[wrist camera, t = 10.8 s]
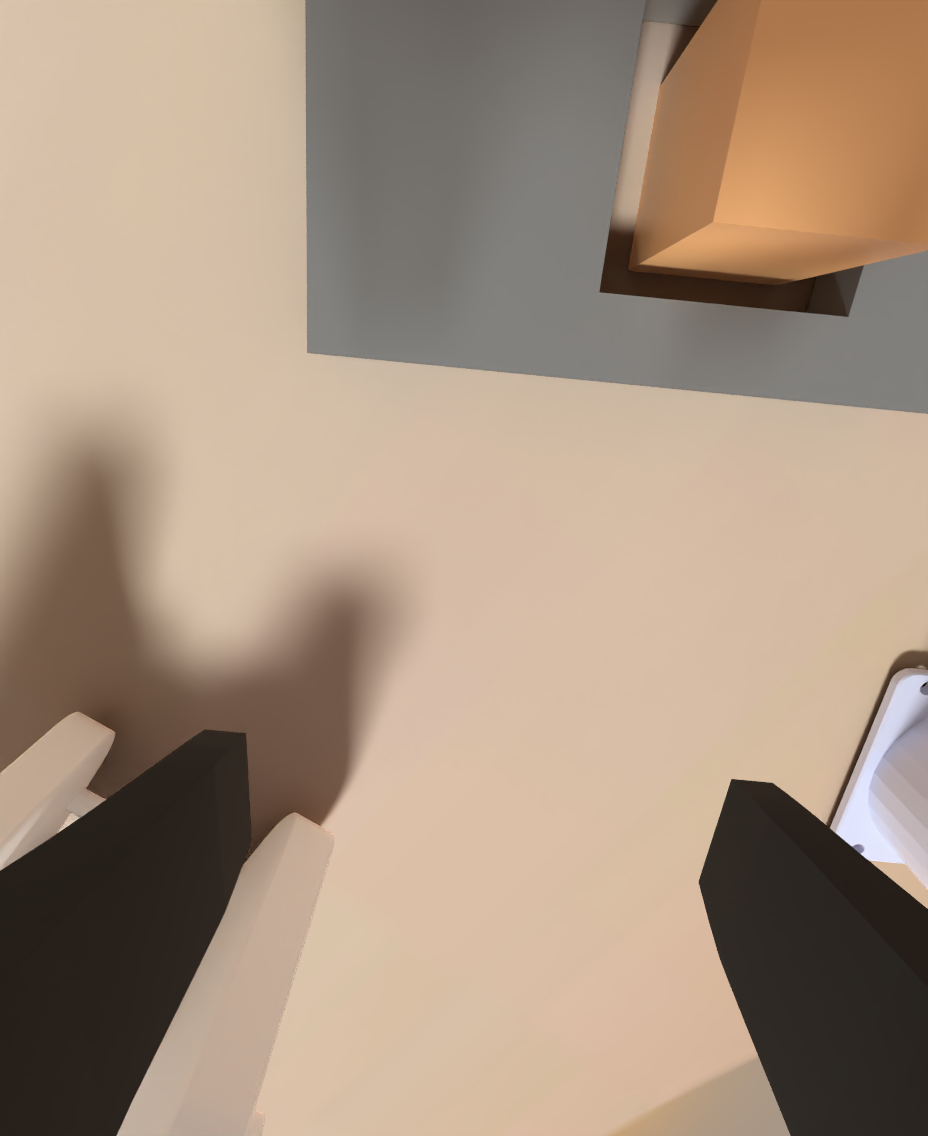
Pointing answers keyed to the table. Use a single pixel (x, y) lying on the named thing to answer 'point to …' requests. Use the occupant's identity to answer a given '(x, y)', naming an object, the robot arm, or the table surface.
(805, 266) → the orange rectangular block
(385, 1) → the socket plate
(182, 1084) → the cable organizer
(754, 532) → the table surface
